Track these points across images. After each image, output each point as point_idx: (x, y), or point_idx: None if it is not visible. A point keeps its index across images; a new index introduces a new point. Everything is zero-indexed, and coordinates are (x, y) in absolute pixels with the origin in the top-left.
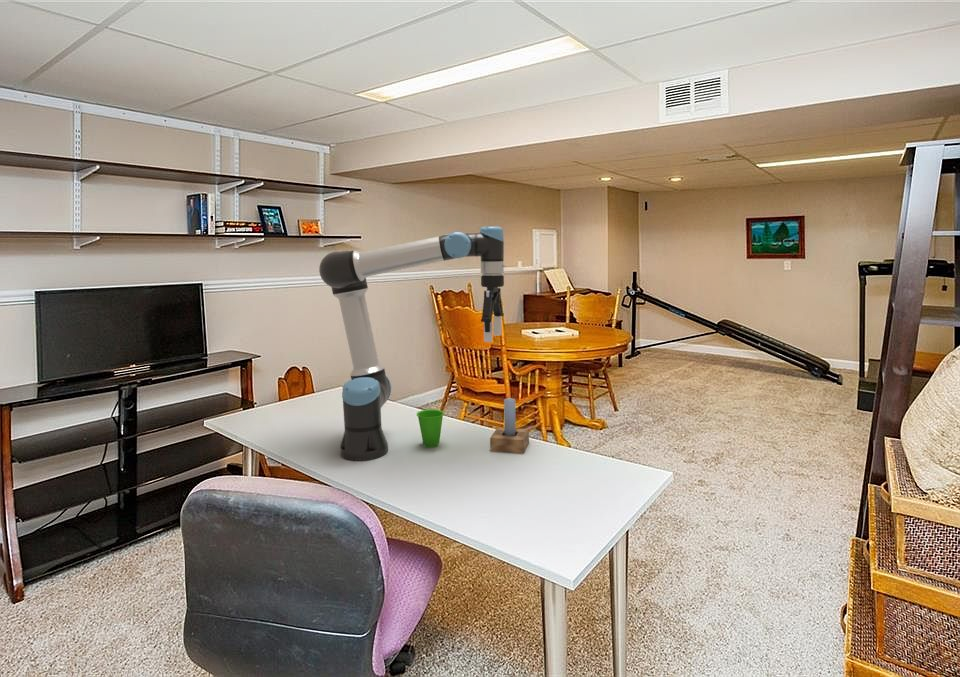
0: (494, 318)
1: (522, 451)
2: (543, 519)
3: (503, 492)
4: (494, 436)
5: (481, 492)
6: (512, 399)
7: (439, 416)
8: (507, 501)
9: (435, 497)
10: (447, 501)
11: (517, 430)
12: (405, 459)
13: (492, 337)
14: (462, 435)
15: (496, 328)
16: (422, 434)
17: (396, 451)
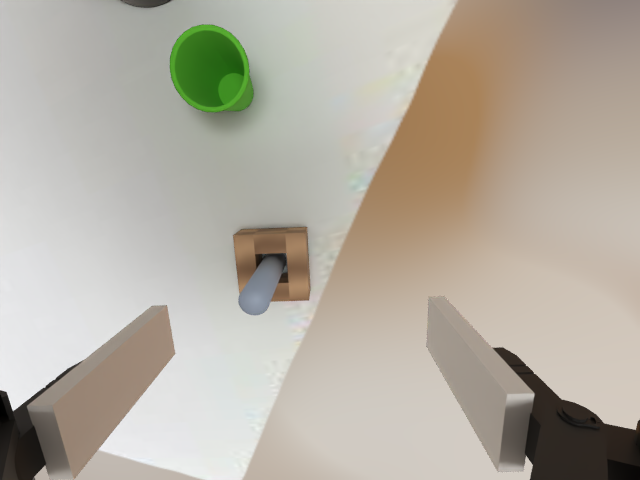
0: (494, 390)
1: None
2: (32, 360)
3: (83, 294)
4: (243, 242)
5: (68, 263)
6: (257, 307)
7: (194, 107)
8: (58, 306)
9: (18, 199)
10: (15, 222)
11: (294, 279)
12: (139, 70)
13: (157, 372)
14: (314, 142)
15: (447, 345)
16: (207, 68)
17: (173, 26)
